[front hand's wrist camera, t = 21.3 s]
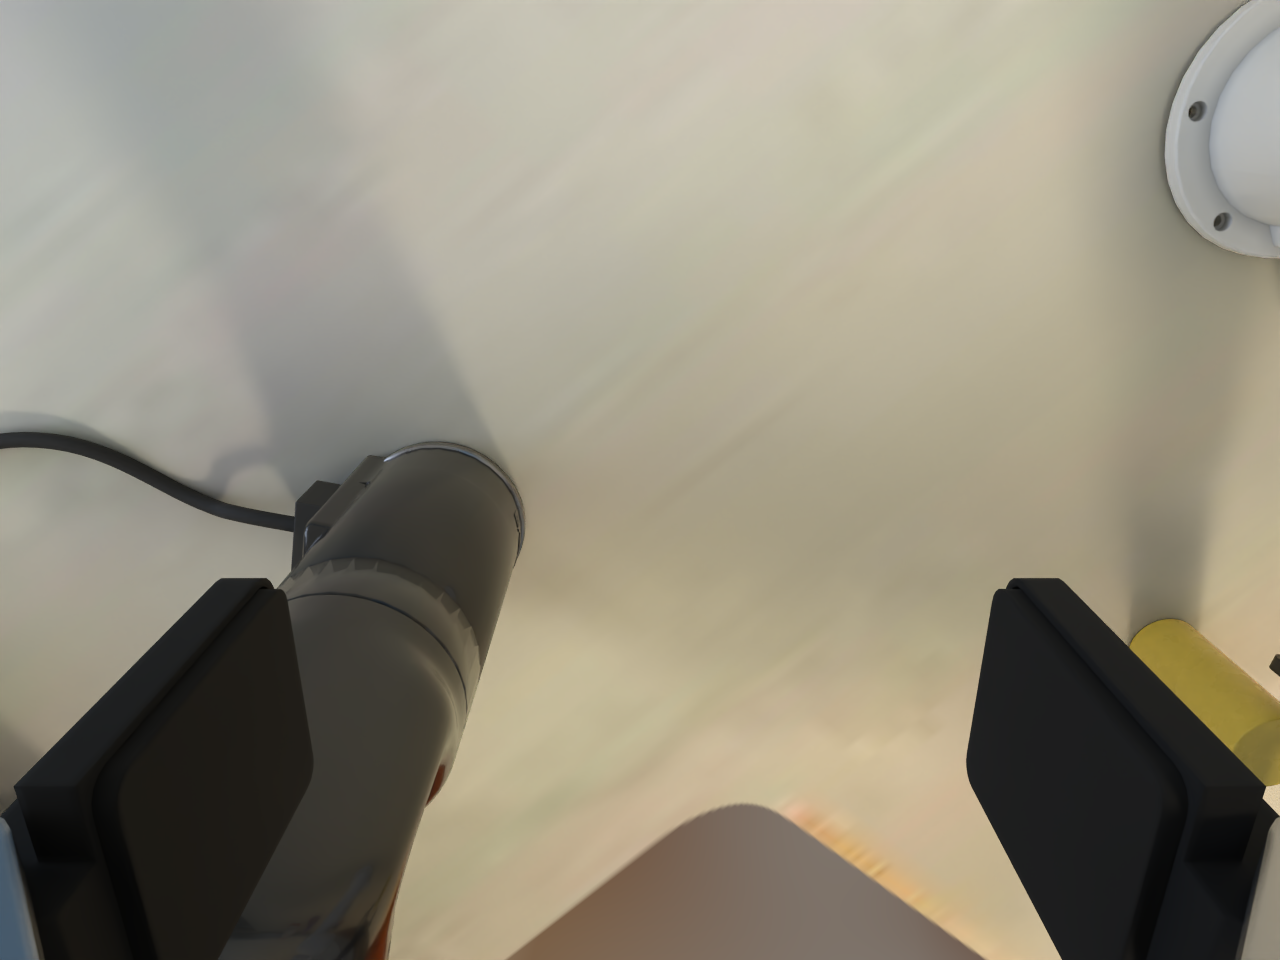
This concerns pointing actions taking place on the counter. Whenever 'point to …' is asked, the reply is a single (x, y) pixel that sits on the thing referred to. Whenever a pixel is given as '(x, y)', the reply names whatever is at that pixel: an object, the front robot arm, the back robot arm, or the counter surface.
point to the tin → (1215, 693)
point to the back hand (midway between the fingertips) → (1249, 731)
